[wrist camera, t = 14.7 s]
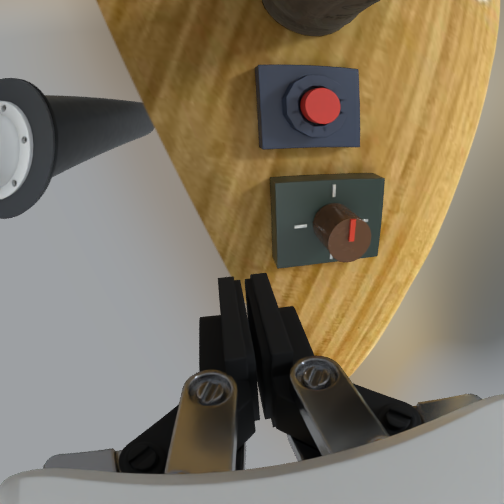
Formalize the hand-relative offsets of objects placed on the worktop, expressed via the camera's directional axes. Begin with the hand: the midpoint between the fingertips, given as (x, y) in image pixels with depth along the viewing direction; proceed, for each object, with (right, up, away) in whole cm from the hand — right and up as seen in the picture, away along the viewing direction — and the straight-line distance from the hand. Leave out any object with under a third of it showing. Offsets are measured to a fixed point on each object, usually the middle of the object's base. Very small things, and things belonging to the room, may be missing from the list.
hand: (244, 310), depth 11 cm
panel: (+9, +7, +26) cm, 28 cm away
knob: (+9, +5, +23) cm, 26 cm away
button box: (+6, +18, +20) cm, 28 cm away
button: (+7, +17, +17) cm, 25 cm away
